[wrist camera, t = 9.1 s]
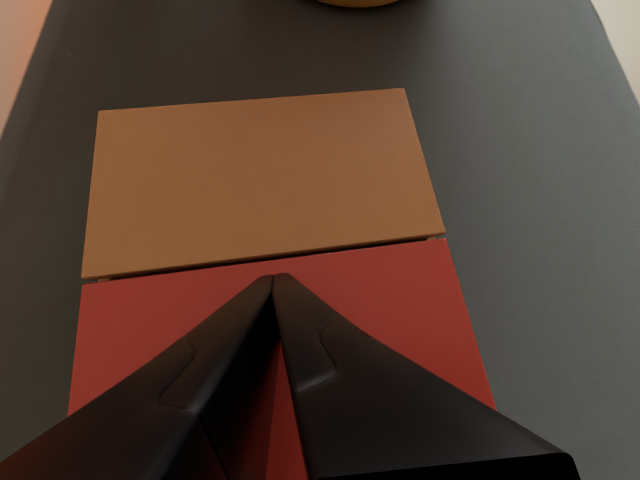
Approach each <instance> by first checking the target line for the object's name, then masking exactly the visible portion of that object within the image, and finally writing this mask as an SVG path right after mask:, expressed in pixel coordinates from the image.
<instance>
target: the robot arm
mask: <svg viewBox="0 0 640 480" xmlns="http://www.w3.org/2000/svg"><path fill="white" fill-rule="evenodd" d="M280 341H281V346H282V352H283V357H284V362H285V367H286V372H287V378H288V383H289V388H290V393H291V398H292V404H293V409H294V414H295V419H296V425H297V430H298V435H299V440H300V445H301V451H302V456H303V461H304V466H305V471H306V477H307V480H580V477H579V474H578V471H577V468H576V465H575V463H574V460H573V458H572V457H571V456H570V455H569V454H568V453H566V452H564V451H563V450H561V449H559V448H558V447H556V446H554V445H553V444H551V443H549V442H548V441H546V440H544V439H543V438H541V437H539V436H538V435H536V434H534V433H532V432H531V431H529V430H527V429H526V428H524V427H522V426H521V425H519V424H517V423H516V422H514V421H512V420H511V419H509V418H507V417H506V416H504V415H502V414H501V413H499V412H497V411H496V410H494V409H492V408H491V407H489V406H487V405H486V404H484V403H482V402H481V401H479V400H477V399H476V398H474V397H472V396H471V395H469V394H467V393H466V392H464V391H462V390H461V389H459V388H457V387H456V386H454V385H452V384H450V383H449V382H447V381H445V380H444V379H442V378H440V377H439V376H437V375H435V374H434V373H432V372H430V371H429V370H427V369H425V368H424V367H422V366H420V365H419V364H417V363H415V362H414V361H412V360H410V359H409V358H407V357H405V356H404V355H402V354H400V353H399V352H397V351H395V350H394V349H392V348H390V347H389V346H387V345H385V344H384V343H382V342H380V341H379V340H377V339H375V338H374V337H372V336H371V335H369V334H368V333H366V332H364V331H363V330H361V329H360V328H359V327H357V326H356V325H354V324H353V323H352V322H350V321H349V320H348V319H346V318H345V317H344V316H343V315H341V314H339V313H338V312H337V311H336V310H334V309H333V308H332V307H331V306H329V305H328V304H327V303H326V302H324V301H323V300H322V299H321V298H319V297H318V296H317V295H316V294H314V293H313V292H312V291H311V290H309V289H308V288H307V287H306V286H304V285H303V284H302V283H301V282H299V281H298V280H297V279H296V278H294V277H293V276H292V275H291V274H289V273H287V272H286V273H278V274H275V276H274V275H273V274H270V275H263V276H260V277H259V278H258V279H256V280H255V281H254V282H252V283H251V284H250V285H249V286H247V287H246V288H245V289H243V290H242V291H241V292H240V293H238V294H237V295H236V296H234V297H233V298H232V299H231V300H229V301H228V302H227V303H225V304H224V305H223V306H221V307H220V308H219V309H218V310H216V311H215V312H214V313H212V314H211V315H210V316H209V317H207V318H206V319H205V320H203V321H202V322H201V323H200V324H198V325H197V326H196V327H194V328H193V329H192V330H191V331H189V332H188V333H187V334H186V335H185V337H184V336H182V337H181V338H179V339H178V340H177V341H176V342H174V343H173V344H172V345H170V346H169V347H168V348H166V349H165V350H164V351H162V352H161V353H160V354H158V355H157V356H156V357H154V358H153V359H152V360H150V361H149V362H148V363H146V364H145V365H143V366H142V367H140V368H139V369H137V370H136V371H135V372H133V373H132V374H130V375H129V376H127V377H126V378H124V379H123V380H122V381H120V382H119V383H117V384H116V385H114V386H113V387H111V388H110V389H108V390H107V391H105V392H104V393H102V394H101V395H99V396H98V397H96V398H95V399H93V400H92V401H91V402H89V403H88V404H86V405H85V406H83V407H82V408H80V409H79V410H77V411H76V412H74V413H73V414H71V415H70V416H68V417H67V418H65V419H64V420H62V421H61V422H59V423H58V424H57V425H55V426H54V427H52V428H51V429H49V430H48V431H46V432H45V433H43V434H42V435H40V436H39V437H37V438H36V439H34V440H33V441H31V442H30V443H28V444H27V445H26V446H24V447H23V448H21V449H20V450H18V451H17V452H15V453H14V454H12V455H11V456H9V457H8V458H6V459H5V460H3V461H2V462H0V480H266V471H267V462H268V453H269V444H270V435H271V425H272V416H273V407H274V398H275V389H276V380H277V370H278V361H279V352H280Z"/></svg>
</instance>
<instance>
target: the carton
mask: <svg viewBox="0 0 640 480" xmlns="http://www.w3.org/2000/svg"><path fill="white" fill-rule="evenodd" d="M444 233H445V228H444V225H443V221H442V218H441V215H440V211H439V208H438V204H437V201H436V197H435V194H434V190H433V187H432V183H431V180H430V176H429V173H428V169H427V166H426V163H425V159H424V156H423V152H422V149H421V145H420V142H419V138H418V135H417V131H416V128H415V124H414V121H413V117H412V114H411V111H410V107H409V104H408V100H407V97H406V93H405V90H404V88H398V89H384V90H371V91H358V92H344V93H331V94H318V95H304V96H291V97H278V98H264V99H251V100H238V101H224V102H211V103H198V104H184V105H171V106H158V107H145V108H131V109H118V110H105V111H99V112H98V120H97V130H96V139H95V149H94V158H93V168H92V177H91V187H90V196H89V206H88V215H87V225H86V234H85V244H84V253H83V263H82V272H81V278H82V279H87V280H96V279H98V282H104V281H112V280H120V279H128V278H136V277H144V276H151V275H159V274H167V273H175V272H183V271H191V270H199V269H206V268H214V267H222V266H230V265H238V264H246V263H254V262H261V261H269V260H277V259H285V258H293V257H301V256H309V255H316V254H324V253H332V252H340V251H348V250H356V249H364V248H371V247H379V246H387V245H395V244H403V243H411V242H419V241H426V240H434V239H436V237H437V236H441V235H443V234H444Z"/></svg>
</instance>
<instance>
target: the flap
mask: <svg viewBox="0 0 640 480" xmlns="http://www.w3.org/2000/svg"><path fill="white" fill-rule="evenodd" d="M286 272H287V273H289V274H291V275H292V276H293V277H294V278H296V279H297V280H298V281H299V282H301V283H302V284H303V285H304V286H306V287H307V288H308V289H309V290H311V291H312V292H313V293H314V294H316V295H317V296H318V297H319V298H321V299H322V300H323V301H324V302H326V303H327V304H328V305H329V306H331V307H332V308H333V309H334V310H336V311H337V312H338V313H339V314H341V315H343V316H344V317H345V318H346V319H348V320H349V321H350V322H352V323H353V324H354V325H356V326H357V327H359V328H360V329H361V330H363V331H364V332H366V333H368V334H369V335H371V336H372V337H374V338H375V339H377V340H379V341H380V342H382V343H384V344H385V345H387V346H389V347H390V348H392V349H394V350H395V351H397V352H399V353H400V354H402V355H404V356H405V357H407V358H409V359H410V360H412V361H414V362H415V363H417V364H419V365H420V366H422V367H424V368H425V369H427V370H429V371H430V372H432V373H434V374H435V375H437V376H439V377H440V378H442V379H444V380H445V381H447V382H449V383H450V384H452V385H454V386H456V387H457V388H459V389H461V390H462V391H464V392H466V393H467V394H469V395H471V396H472V397H474V398H476V399H477V400H479V401H481V402H482V403H484V404H486V405H487V406H489V407H491V408H492V409H494V410H496V406H495V403H494V400H493V396H492V393H491V389H490V386H489V383H488V379H487V376H486V373H485V369H484V366H483V362H482V359H481V356H480V352H479V349H478V345H477V342H476V339H475V335H474V332H473V329H472V325H471V322H470V318H469V315H468V312H467V308H466V305H465V301H464V298H463V295H462V291H461V288H460V285H459V281H458V278H457V274H456V271H455V268H454V264H453V261H452V257H451V254H450V251H449V247H448V244H447V240H446V238H442V239H434V240H426V241H419V242H411V243H403V244H395V245H387V246H379V247H371V248H364V249H356V250H348V251H340V252H332V253H324V254H316V255H309V256H301V257H293V258H285V259H277V260H269V261H261V262H254V263H246V264H238V265H230V266H222V267H214V268H206V269H199V270H191V271H183V272H175V273H167V274H159V275H151V276H144V277H136V278H128V279H120V280H112V281H104V282H96V283H89V284H83V285H82V294H81V303H80V311H79V320H78V329H77V338H76V346H75V355H74V364H73V373H72V382H71V390H70V399H69V408H68V416H70V415H71V414H73V413H74V412H76V411H77V410H79V409H80V408H82V407H83V406H85V405H86V404H88V403H89V402H91V401H92V400H93V399H95V398H96V397H98V396H99V395H101V394H102V393H104V392H105V391H107V390H108V389H110V388H111V387H113V386H114V385H116V384H117V383H119V382H120V381H122V380H123V379H124V378H126V377H127V376H129V375H130V374H132V373H133V372H135V371H136V370H137V369H139V368H140V367H142V366H143V365H145V364H146V363H148V362H149V361H150V360H152V359H153V358H154V357H156V356H157V355H158V354H160V353H161V352H162V351H164V350H165V349H166V348H168V347H169V346H170V345H172V344H173V343H174V342H176V341H177V340H178V339H179V338H181V337H182V336H184V337H185V335H186V334H187V333H188V332H189V331H191V330H192V329H193V328H194V327H196V326H197V325H198V324H200V323H201V322H202V321H203V320H205V319H206V318H207V317H209V316H210V315H211V314H212V313H214V312H215V311H216V310H218V309H219V308H220V307H221V306H223V305H224V304H225V303H227V302H228V301H229V300H231V299H232V298H233V297H234V296H236V295H237V294H238V293H240V292H241V291H242V290H243V289H245V288H246V287H247V286H249V285H250V284H251V283H252V282H254V281H255V280H256V279H258V278H259V277H260V276H263V275H270V274H273V275H274V276H275V274H278V273H286ZM496 411H497V410H496ZM266 480H307V477H306V471H305V466H304V461H303V456H302V451H301V445H300V440H299V435H298V430H297V425H296V419H295V414H294V409H293V404H292V398H291V393H290V388H289V383H288V378H287V372H286V367H285V362H284V357H283V352H282V346H281V341H280V352H279V361H278V370H277V380H276V389H275V398H274V407H273V416H272V425H271V435H270V444H269V453H268V462H267V471H266Z"/></svg>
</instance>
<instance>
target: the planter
mask: <svg viewBox="0 0 640 480" xmlns="http://www.w3.org/2000/svg"><path fill="white" fill-rule="evenodd" d="M317 1H320V2H324V3H328V4H332V5H337V6H344V7H374V6H381V5H385V4H389V3H393V2H396V1H398V0H317Z"/></svg>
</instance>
